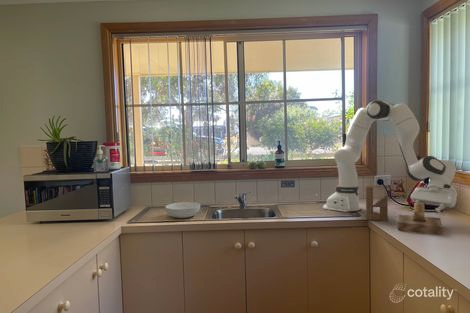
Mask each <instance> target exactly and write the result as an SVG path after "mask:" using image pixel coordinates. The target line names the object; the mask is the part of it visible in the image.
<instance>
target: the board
mask: <svg viewBox="0 0 470 313" xmlns="http://www.w3.org/2000/svg"><path fill="white" fill-rule="evenodd" d="M424 220H425V221H424V222H418V221H414V215H405V214H399V215H398V220H397V231H398V232H406V233H407V232H408V233H415V232H416V233H418V234H426V233H427V234H426V235H437V236H444V226H443V225H444V224H442V220H441V217H432V216H424Z"/></svg>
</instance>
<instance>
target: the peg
mask: <svg viewBox="0 0 470 313" xmlns="http://www.w3.org/2000/svg"><path fill="white" fill-rule="evenodd" d="M413 216H414V221H418V222H424V221H425V220H424V217H425V203H416V202H413Z"/></svg>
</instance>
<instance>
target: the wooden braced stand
mask: <svg viewBox="0 0 470 313" xmlns="http://www.w3.org/2000/svg"><path fill="white" fill-rule="evenodd" d="M388 200H389V199H388V193H385V194H384V195H383V196H382V197H380V198H379V200H377V201H376V202H375V203H374V186H373V185H366V186H365V220H366V221H367V220H369V221H370V220H371V221H383V222H384V221H385V222H386V221H389V218H388V217H389V216H388V215H389V214H388V212H389V210H388V207H389V204H388ZM374 208H379V212H377V211H374Z"/></svg>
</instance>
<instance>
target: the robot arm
mask: <svg viewBox="0 0 470 313" xmlns="http://www.w3.org/2000/svg"><path fill="white" fill-rule="evenodd" d="M375 121H378V122H379V121H380V122H381V121H382V122H386V121H387V122H388V121H391V122H392V124H393V126H394V128H395V130H396V133H397V137H398V145H399V149H400V151H401V154H402V157H403V159H404V163H405V167H406V172H407V176H408V177H409V178H410V179H411V180H412V181H415V182H423V181H424V180H426V179H427V178H429V182H428V184H427V185H426V186H420V185H419V186H417V187H415V188H414V190H413V191H412V193H411V194H410V201H411V202H413V203H423V204H424V205H425V204H426V205H432V206H438V207H435V209H434V212H435V213H437V214H440V212H441V211H442V210H443V209H445V207H446V208H450V209H452V208H454V207H455V206H456V203H457V199H458V198H457V197H458V192H457V190H456V188H455V187H454V186H453V185H451V183H452V182H453V181H454V178H455V174H456V172H457V168H456V165H455V164H454V162H452V161H450V160H447V159H445V160H444V159H443V160H442V159H439V158H437V157H435V156H433V155H427V156H424V157H423V158H421V159H419V160H418V158H417V155H416V152H415V149H414V142H415V140H416V138H417V137H418V135H419V133H420V129H421V128H420V127H421V126H420V125H419V121H418V120H417V118H416V115H415V114H414V112H413V111H412V110H411V108H410V107H409V106H408V105H407V104H405V103H397V104H395V105H394V104H393V103H391V102H389V101H385V100H379V99H376V100H372V101H371V102H369V103H368V104H367V106H366V107H360V108H358V110H357V111H356V113H355V114H354V116H353V117H352V121H351V123H350V125H349V127H348V130H347V132H346V137H345V143H344V146H341V147H339V148H338V149H337V150H335V152H334V156H333V158H334V161H335V164H336V167H337V173H338V185H336V186H335V192H334V193H332V194H331V195H330V196H328V198H327V200H326V203H325V204H324V205H323V206H322V209H323V210H329V211H335V212H336V211H337V212H346V213H348V212H355V211H360V210H361V209H362V208H361V205H360V201H359V200H360V199H359V195H360V194H359V193H360V192H359V191H360V190H359V188H360V187H359V186H358V183H359V182H358V181H359V180H358V172H357V168H356V162H358V161H359V160H360V158H361V157H362V156H361V155H362V151H363V147H364V143H365V141H366V138H367V136H368V133H369V131H370V129H371V126H372V124H373V122H375Z"/></svg>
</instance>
